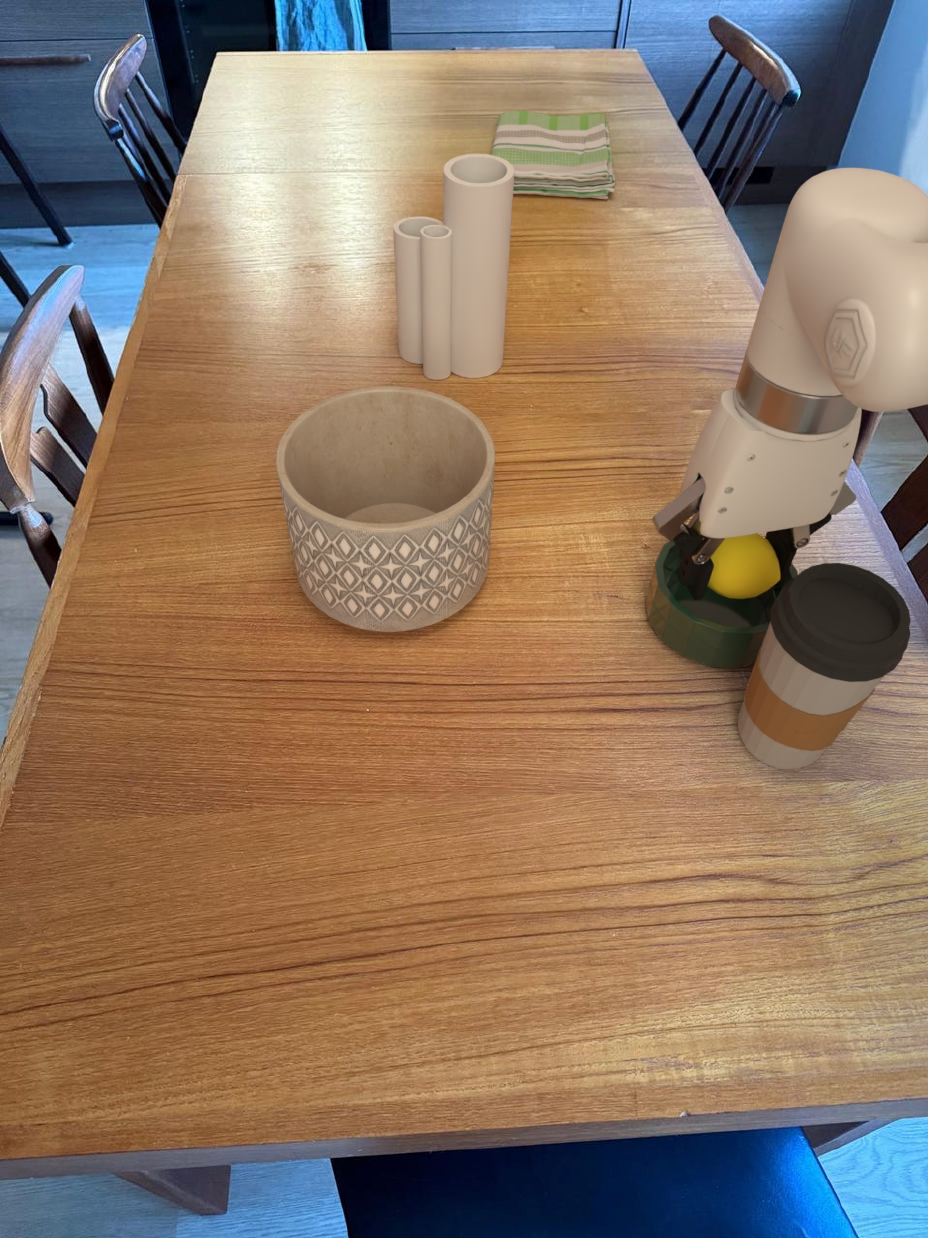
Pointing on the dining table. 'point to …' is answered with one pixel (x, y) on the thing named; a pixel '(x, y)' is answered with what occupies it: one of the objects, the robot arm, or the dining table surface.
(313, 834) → the dining table surface
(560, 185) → the dish towel
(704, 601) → the bowl
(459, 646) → the dining table surface
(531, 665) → the dining table surface
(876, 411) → the robot arm
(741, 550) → the lemon
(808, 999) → the dining table surface
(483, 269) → the vase
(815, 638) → the coffee cup
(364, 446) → the planter
